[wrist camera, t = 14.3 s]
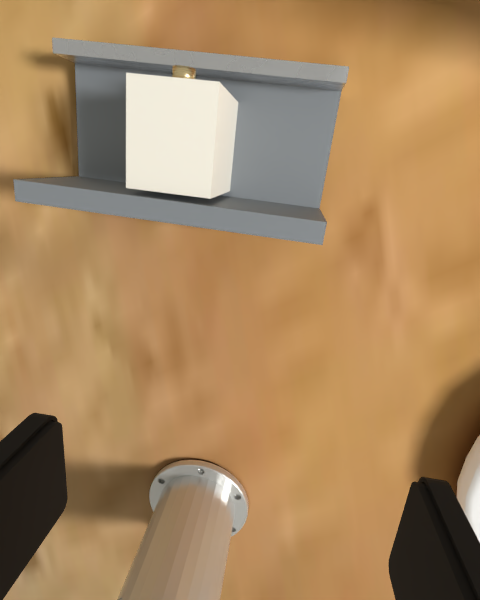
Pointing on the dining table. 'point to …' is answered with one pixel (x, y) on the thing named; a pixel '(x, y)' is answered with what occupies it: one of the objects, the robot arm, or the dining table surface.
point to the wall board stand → (247, 148)
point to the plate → (471, 487)
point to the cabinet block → (179, 134)
